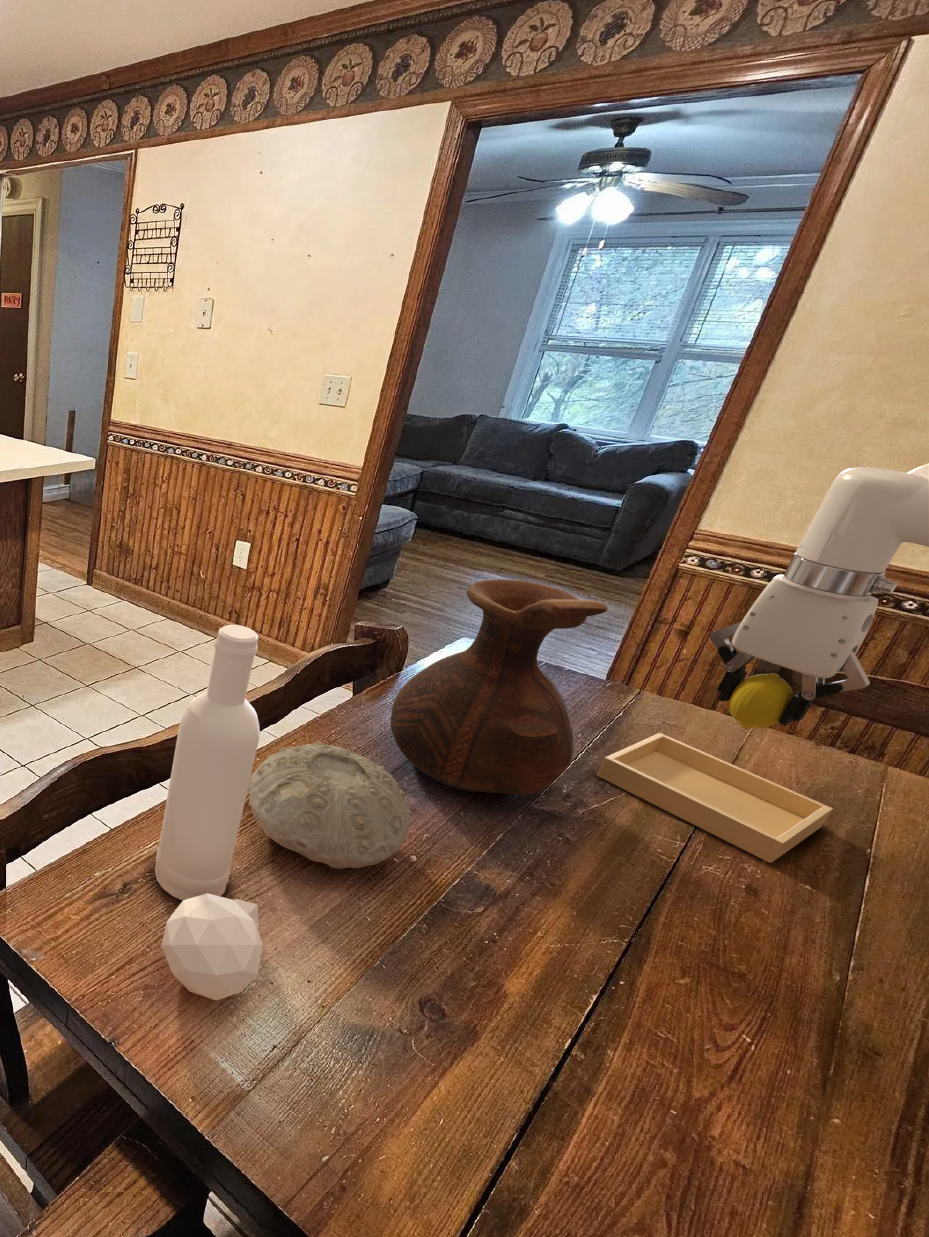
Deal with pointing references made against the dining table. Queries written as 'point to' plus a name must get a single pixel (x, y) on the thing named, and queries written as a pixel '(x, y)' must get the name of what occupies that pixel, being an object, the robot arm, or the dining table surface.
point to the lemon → (760, 700)
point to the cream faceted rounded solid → (213, 945)
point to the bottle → (210, 774)
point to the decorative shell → (329, 805)
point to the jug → (494, 697)
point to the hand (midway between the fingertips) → (755, 709)
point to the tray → (715, 795)
